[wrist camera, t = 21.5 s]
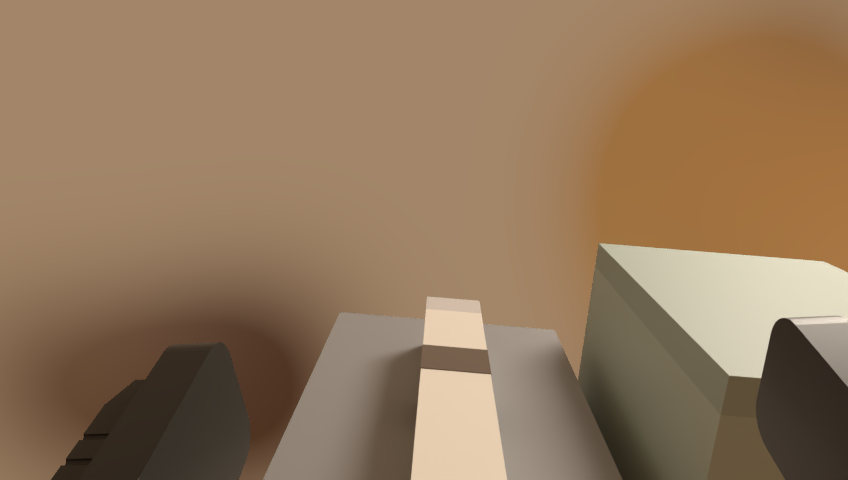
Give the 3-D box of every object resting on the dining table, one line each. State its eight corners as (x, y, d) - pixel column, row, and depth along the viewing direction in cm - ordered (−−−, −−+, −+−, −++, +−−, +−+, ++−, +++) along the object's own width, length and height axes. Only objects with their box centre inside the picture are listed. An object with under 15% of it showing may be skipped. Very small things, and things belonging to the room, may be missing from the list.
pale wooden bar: (516, 736, 14) (532, 633, 14) (389, 725, 14) (397, 620, 14) (474, 349, 36) (479, 300, 35) (422, 344, 36) (426, 296, 35)
